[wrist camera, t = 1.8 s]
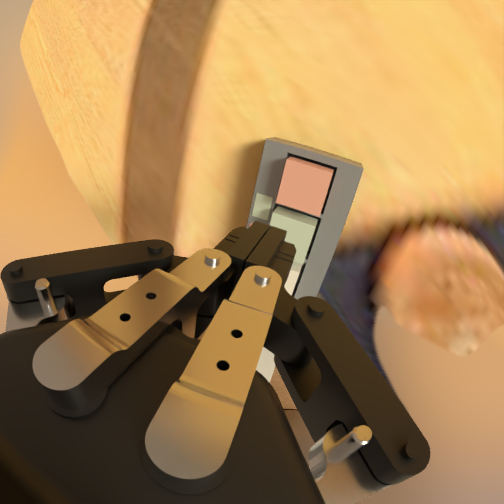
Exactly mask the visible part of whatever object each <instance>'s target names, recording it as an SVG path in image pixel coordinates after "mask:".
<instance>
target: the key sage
mask: <svg viewBox="0 0 504 504" xmlns="http://www.w3.org/2000/svg"><path fill="white" fill-rule="evenodd" d="M317 221H318V219H316V218H313V217H310V216H307V215H304V214H301V213H298V212H295V211H291V210H288V209H285V208H282V207H279V206H278V207H277V208H276V209H275V210H274V212H273V214H272V218H271V222H270V225H271V226H274V227H277V228H280V229H283V230H286V231H287V234H286V238H285V241H286V242H289V243H291V244H294V245H295V248H296V254H295V258H294V262H297V263H300V264H303V263H304V260H305V257H306V254H307V252H308V249H309V246H310V243H311V240H312V237H313V234H314V231H315V228H316V224H317Z"/></svg>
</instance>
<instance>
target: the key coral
mask: <svg viewBox="0 0 504 504" xmlns="http://www.w3.org/2000/svg"><path fill="white" fill-rule="evenodd" d="M333 171H334V170H333V169H330V168H327V167H324V166H321V165H318V164H314V163H311V162H308V161H305V160H301V159H298V158H294V157H289V158H288V159H286V163H285V167H284V171H283V175H282V179H281V183H280V187H279V191H278V195H277V199H276V203H279V204H282V205H285V206H288V207H291V208H294V209H297V210H300V211H303V212H306V213H309V214H312V215H315V216H318V217H320V214H321V210H322V207H323V204H324V201H325V198H326V195H327V191H328V188H329V185H330V181H331V178H332V175H333Z"/></svg>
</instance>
